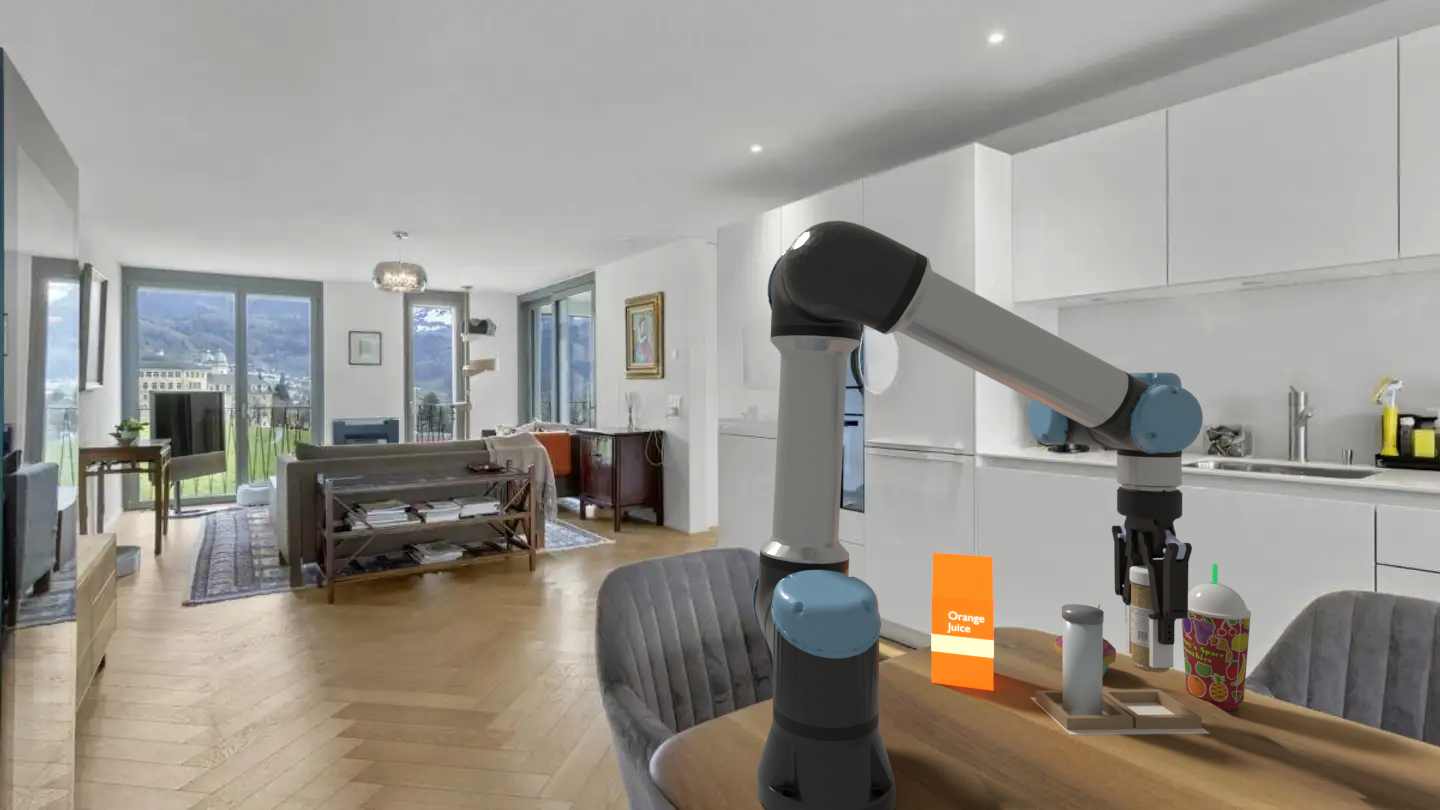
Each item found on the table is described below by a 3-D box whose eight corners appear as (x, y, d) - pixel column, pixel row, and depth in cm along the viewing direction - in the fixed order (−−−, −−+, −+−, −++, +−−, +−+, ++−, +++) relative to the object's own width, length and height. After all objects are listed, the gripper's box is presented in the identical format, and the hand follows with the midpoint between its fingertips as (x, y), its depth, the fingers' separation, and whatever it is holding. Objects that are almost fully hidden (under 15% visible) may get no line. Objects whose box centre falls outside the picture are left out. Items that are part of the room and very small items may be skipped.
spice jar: (1175, 669, 94) (1175, 569, 94) (1159, 676, 91) (1159, 574, 91) (1139, 658, 98) (1139, 562, 97) (1123, 665, 95) (1123, 567, 95)
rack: (1070, 743, 89) (1070, 722, 89) (1030, 705, 100) (1030, 686, 100) (1210, 742, 89) (1210, 721, 89) (1154, 704, 100) (1154, 685, 100)
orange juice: (933, 671, 112) (933, 547, 112) (992, 679, 109) (992, 551, 109) (930, 690, 105) (931, 558, 105) (994, 699, 102) (994, 562, 102)
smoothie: (1166, 695, 103) (1166, 560, 103) (1205, 687, 106) (1206, 555, 106) (1223, 719, 95) (1224, 573, 95) (1264, 710, 98) (1265, 568, 98)
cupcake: (1116, 674, 111) (1116, 599, 111) (1115, 694, 104) (1115, 613, 104) (1056, 664, 115) (1057, 591, 115) (1051, 682, 108) (1051, 604, 108)
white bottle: (1073, 723, 92) (1073, 615, 92) (1054, 706, 97) (1054, 604, 97) (1111, 722, 92) (1111, 615, 92) (1090, 706, 97) (1090, 604, 97)
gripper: (1224, 495, 86) (1224, 685, 86) (1136, 479, 103) (1136, 637, 103) (1163, 496, 85) (1163, 686, 86) (1086, 479, 103) (1086, 637, 103)
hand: (1149, 659), depth 94 cm, fingers closed on spice jar, 4 cm apart
